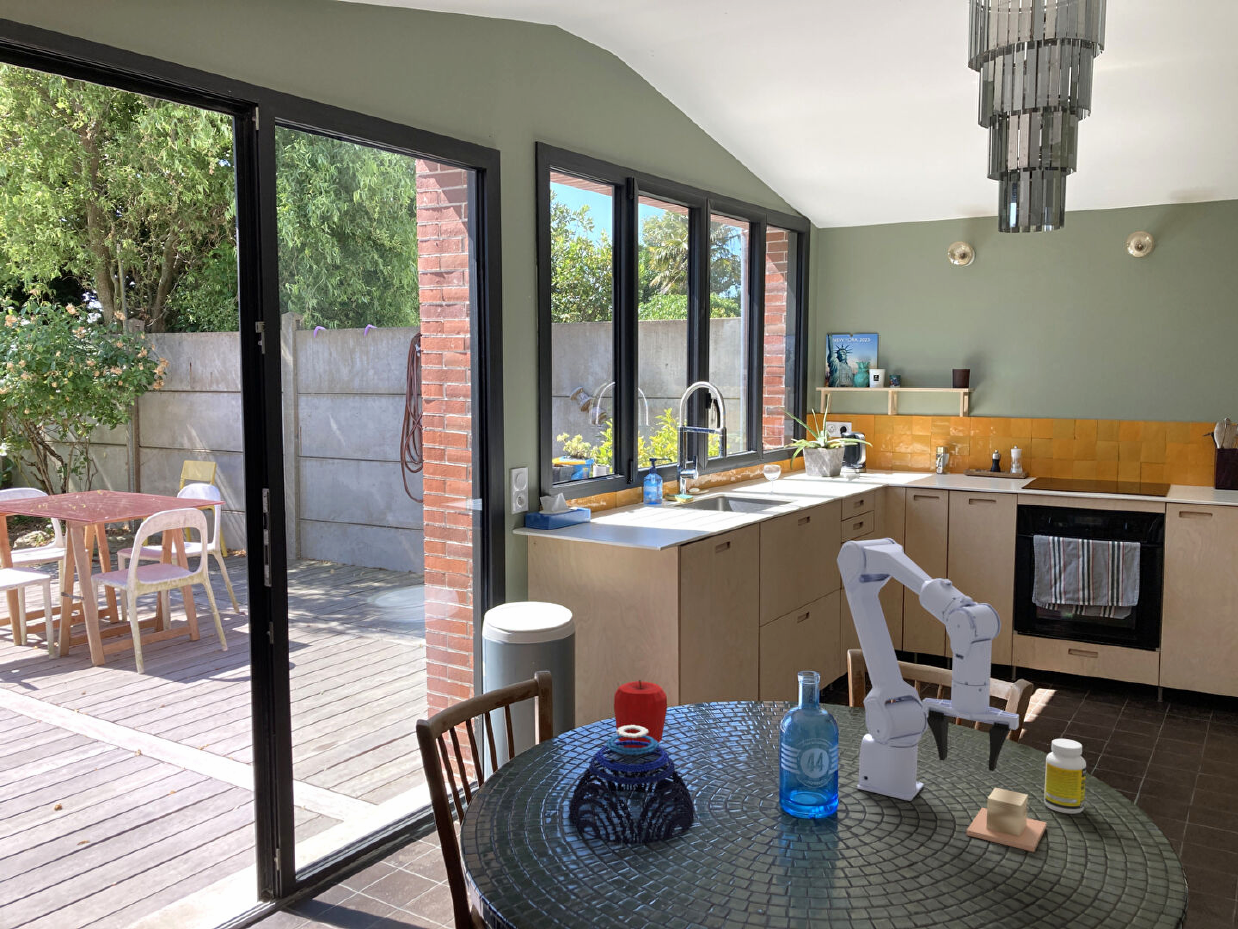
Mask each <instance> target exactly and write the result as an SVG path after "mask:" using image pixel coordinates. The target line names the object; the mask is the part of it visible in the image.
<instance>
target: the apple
mask: <svg viewBox="0 0 1238 929" xmlns="http://www.w3.org/2000/svg"><path fill="white" fill-rule="evenodd" d="M613 709H614V719H615V726H616V730H618V728H620V727H622V726H627V725H629V726H630V725H636V726H641V727H644V728H646V729H648V733H647V734H646V736H649V737H652V738H653V739H654V740H657V742H658V743H660V742H661V741H662V740H663V734H664V729H665V728H664V727H665V721H666V717H667V712H668V711H667V710H668V698H667V694H666V692H665V690H663V688H662V687H661V686H660V685H659V684H656V683H654V682H649V681H641V679H639V680H638V681H635V680H634V681H629V682H626V683H624V684H621V685H620V686H618V688H617V689H616V691H615V693H614V698H613ZM625 732H626V733H632V734H633V733H634V734H636V733H638V732H640V731H639V730H636V729H630V730H629V729H628V730H625ZM616 733H617V732H616ZM618 735H619V734H618V733H617V736H618ZM617 740H618V742H622V741H627V740H629V741H631V740H633V741H639V742H640V741H641V742H648V743H650V740H647V739H646V738H641V737H636V738H632V737H630V738H629V737H622V738H619V739H617ZM628 747H629V748H643V747H647V746H641V745H626V746H625V745H624V746H623V748H628Z"/></svg>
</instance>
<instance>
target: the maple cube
mask: <svg viewBox="0 0 1238 929" xmlns="http://www.w3.org/2000/svg"><path fill="white" fill-rule="evenodd" d="M1028 799H1029V795H1028V794H1026V793H1021V792H1019V791H1018V792H1017V791H1012V790H1007V789H1004V788H1001V787H1000V788H998V787H994V788H993V790H992V791H991V793H990V794H989V795H988V797H987V802H986V803H987V804H986V805H987V806H986V809H987V825H986V829H990V830H994V831H998V832H1002V833H1006V834H1010V835H1014V836H1018V837H1020V836H1021V834H1022V832H1023V830H1024V829H1025V827H1026V825H1027V818H1028V801H1029V800H1028Z"/></svg>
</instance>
